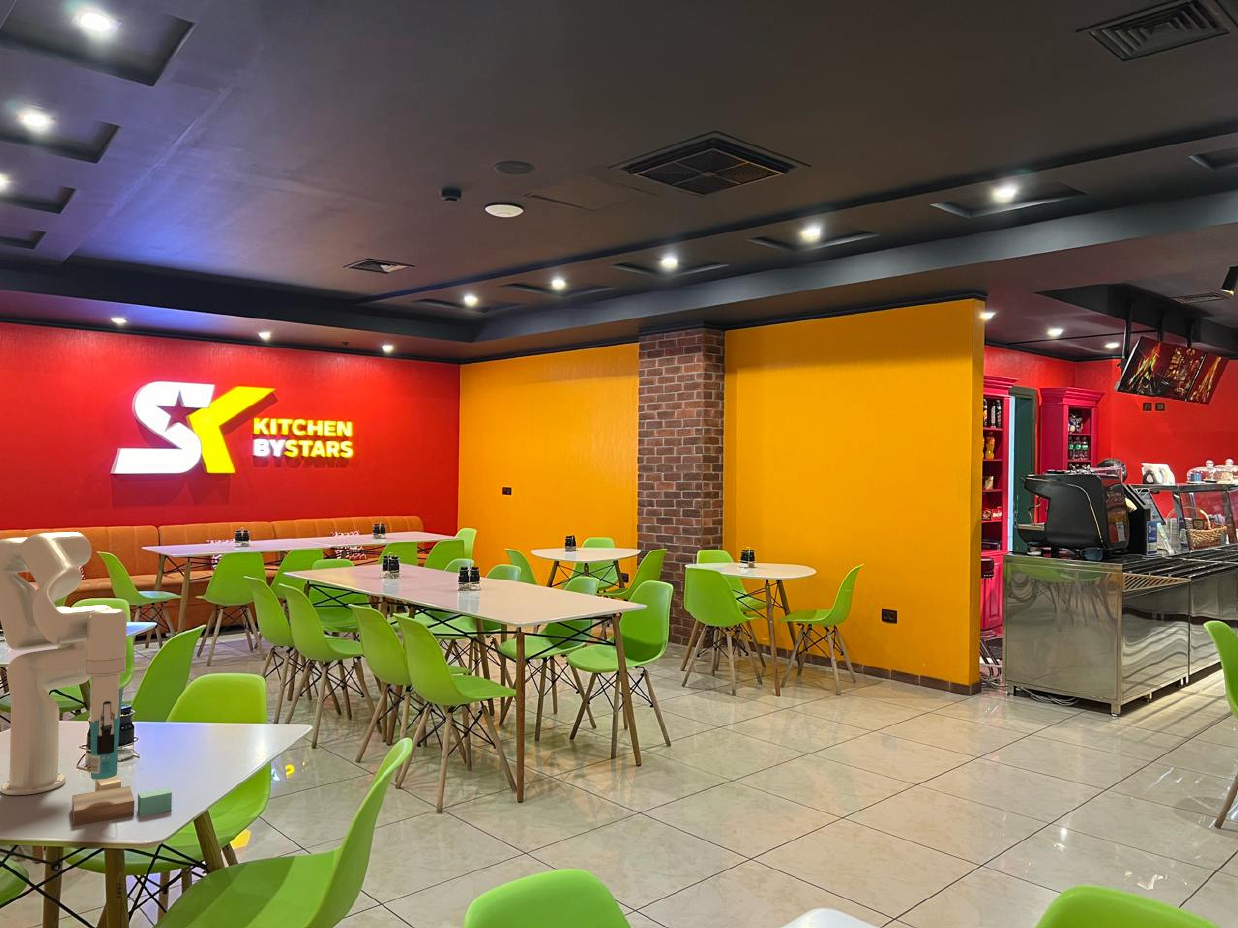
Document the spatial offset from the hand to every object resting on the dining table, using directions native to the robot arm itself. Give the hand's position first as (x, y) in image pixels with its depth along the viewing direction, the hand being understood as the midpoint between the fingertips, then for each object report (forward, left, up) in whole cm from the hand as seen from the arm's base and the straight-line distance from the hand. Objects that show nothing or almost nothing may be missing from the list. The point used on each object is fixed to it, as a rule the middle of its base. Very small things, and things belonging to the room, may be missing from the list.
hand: (104, 749), depth 189 cm
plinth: (0, 0, -14) cm, 14 cm away
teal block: (+5, +9, -14) cm, 17 cm away
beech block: (-10, +1, -14) cm, 17 cm away
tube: (0, 0, -6) cm, 6 cm away
